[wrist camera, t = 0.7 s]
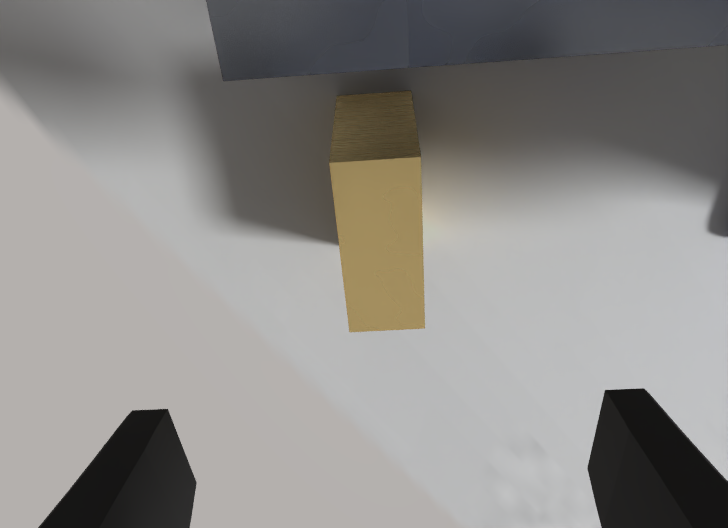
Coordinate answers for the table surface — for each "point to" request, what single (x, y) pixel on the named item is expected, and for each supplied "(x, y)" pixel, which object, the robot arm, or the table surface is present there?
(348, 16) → the box
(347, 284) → the block
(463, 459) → the table surface
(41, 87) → the table surface
